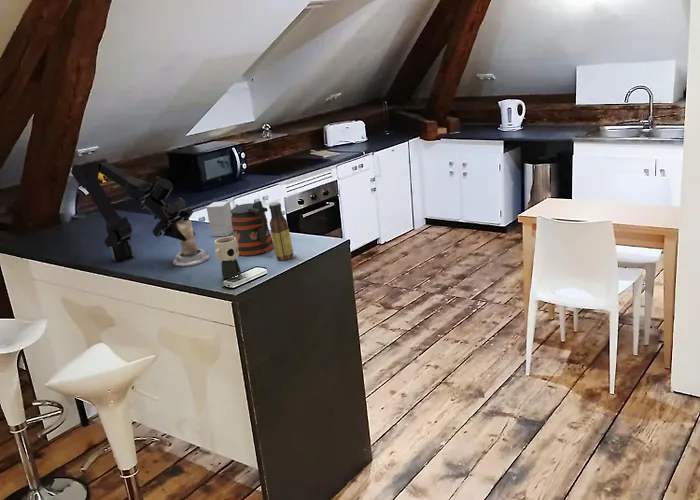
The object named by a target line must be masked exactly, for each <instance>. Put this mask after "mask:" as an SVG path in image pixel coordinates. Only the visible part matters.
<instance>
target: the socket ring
mask: <svg viewBox="0 0 700 500" xmlns="http://www.w3.org/2000/svg"><path fill="white" fill-rule="evenodd" d="M196 249H197V255H194V256H190V257H184V256H183V251H179V252H178V253H177V254H175V257H174V259H173V260H172V261H173V262H172V263H173V265H174V266H175V267H179V268H185V267H193V266H198V265H201V264H203V263H205V262H208V261H209V259H210V258H211V257H210V253H209V252H206V250H205V249H203V248H201V247H200V248H199V247H198V248H196Z"/></svg>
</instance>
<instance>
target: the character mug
mask: <svg viewBox="0 0 700 500" xmlns="http://www.w3.org/2000/svg"><path fill="white" fill-rule="evenodd" d="M214 246H215V247H214V248H215V251H214V253H215V258H216V260H218V261H221V276H222V278H225V279H233V278H232V277H235V276H237V275H238V276H239V275H240V274H241V275H242V271H241V267H240V264H239V261H238V260H237V259H238V257H239V256H240V255H239V250H238V242H237V240H236V238H235V237H234V236H222V237H219V238H217V239H215V240H214ZM235 278H236V277H235Z"/></svg>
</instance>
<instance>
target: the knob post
mask: <svg viewBox="0 0 700 500" xmlns="http://www.w3.org/2000/svg"><path fill="white" fill-rule="evenodd" d="M177 226H178V230H179V231H180V232H181V233H182V234H183V235H184V236H185V238H186V239H187V240H186V241H182V240H179V241H180V245H181V250H182V251H183V256H184V257H190V256H194V255H197V249H198V248H197V245H196V238H195V236H194V234H193V231H194V229H193V225H192V220H190V219H189V220H185V221H180V222H178V223H177ZM182 251H181V252H182Z"/></svg>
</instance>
